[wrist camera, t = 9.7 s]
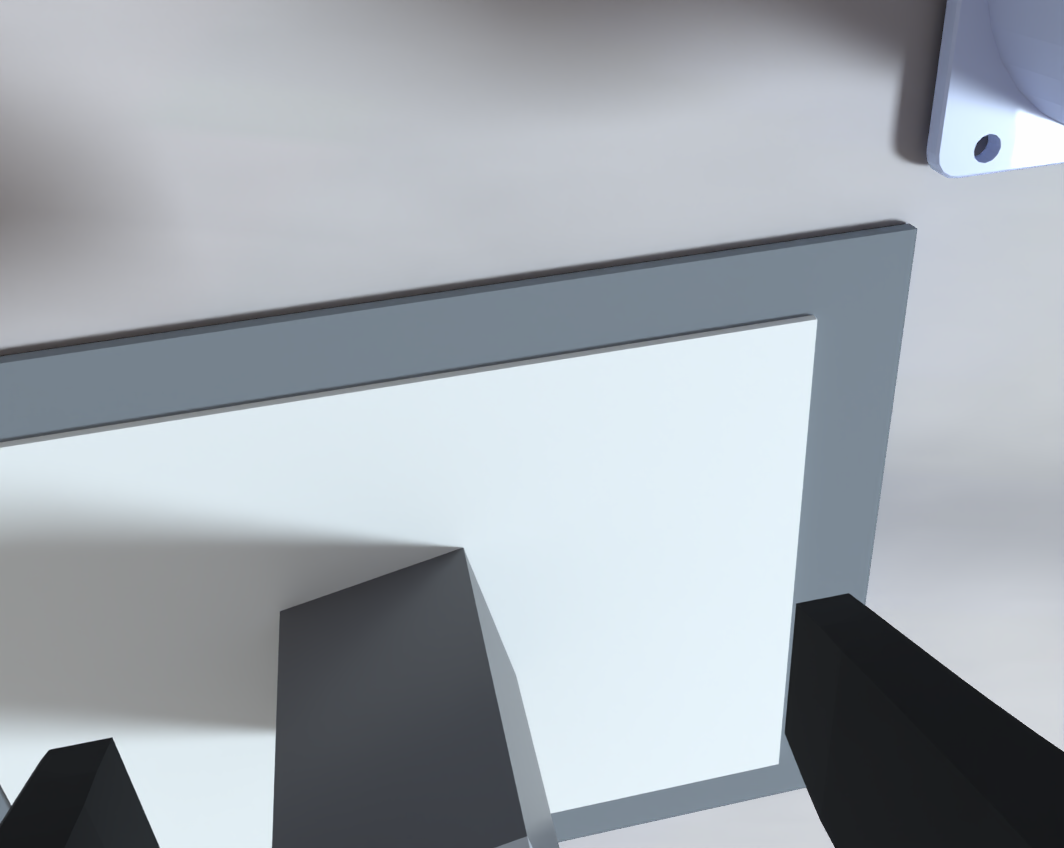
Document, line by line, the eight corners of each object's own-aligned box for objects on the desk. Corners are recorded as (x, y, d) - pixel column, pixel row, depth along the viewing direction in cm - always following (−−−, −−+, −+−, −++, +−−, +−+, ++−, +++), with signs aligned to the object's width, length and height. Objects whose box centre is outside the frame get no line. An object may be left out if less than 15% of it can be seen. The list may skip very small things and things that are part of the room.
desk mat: (909, 223, 19) (922, 232, 19) (836, 771, 28) (844, 785, 27) (-324, 403, 16) (-340, 418, 16) (11, 952, 25) (6, 971, 24)
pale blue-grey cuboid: (463, 547, 20) (555, 967, 13) (516, 675, 23) (622, 1099, 15) (280, 611, 20) (264, 1071, 13) (350, 734, 23) (372, 1190, 15)
